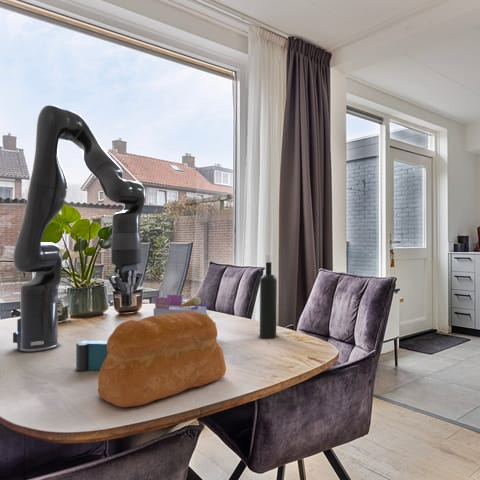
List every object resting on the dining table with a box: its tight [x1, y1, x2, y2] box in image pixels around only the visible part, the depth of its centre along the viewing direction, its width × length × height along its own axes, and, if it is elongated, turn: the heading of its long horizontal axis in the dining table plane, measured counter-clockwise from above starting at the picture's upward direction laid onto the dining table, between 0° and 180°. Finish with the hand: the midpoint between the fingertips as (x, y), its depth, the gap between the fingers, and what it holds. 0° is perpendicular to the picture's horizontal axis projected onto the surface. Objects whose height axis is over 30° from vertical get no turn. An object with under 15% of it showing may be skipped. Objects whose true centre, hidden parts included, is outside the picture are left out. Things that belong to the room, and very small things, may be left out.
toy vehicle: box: [153, 294, 217, 326], centre depth 140 cm, size 9×20×15 cm, turn 78°
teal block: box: [75, 340, 108, 372], centre depth 110 cm, size 12×6×7 cm, turn 87°
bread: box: [97, 311, 227, 408], centre depth 97 cm, size 16×26×17 cm, turn 145°
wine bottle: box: [259, 252, 278, 340], centre depth 146 cm, size 6×6×30 cm
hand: (126, 306), depth 120 cm, fingers closed
